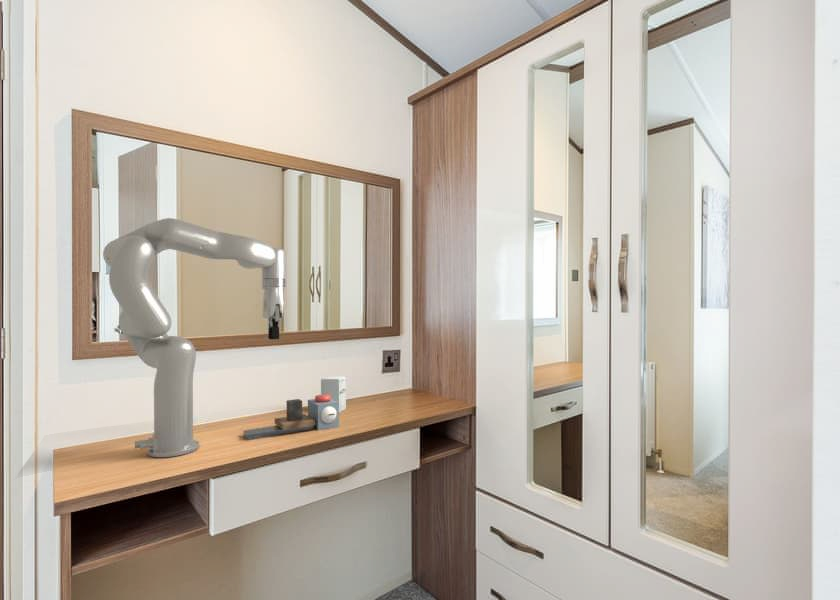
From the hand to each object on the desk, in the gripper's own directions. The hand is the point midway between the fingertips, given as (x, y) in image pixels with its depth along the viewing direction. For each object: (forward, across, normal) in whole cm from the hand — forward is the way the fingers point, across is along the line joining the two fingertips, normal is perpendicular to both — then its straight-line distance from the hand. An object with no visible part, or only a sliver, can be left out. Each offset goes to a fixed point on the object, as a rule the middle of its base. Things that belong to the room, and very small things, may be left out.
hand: (273, 339), depth 150 cm
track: (+29, +10, -1) cm, 31 cm away
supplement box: (+29, -7, +24) cm, 38 cm away
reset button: (+20, +10, +13) cm, 26 cm away
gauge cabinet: (+28, +10, +14) cm, 33 cm away
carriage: (+27, +10, +4) cm, 29 cm away
